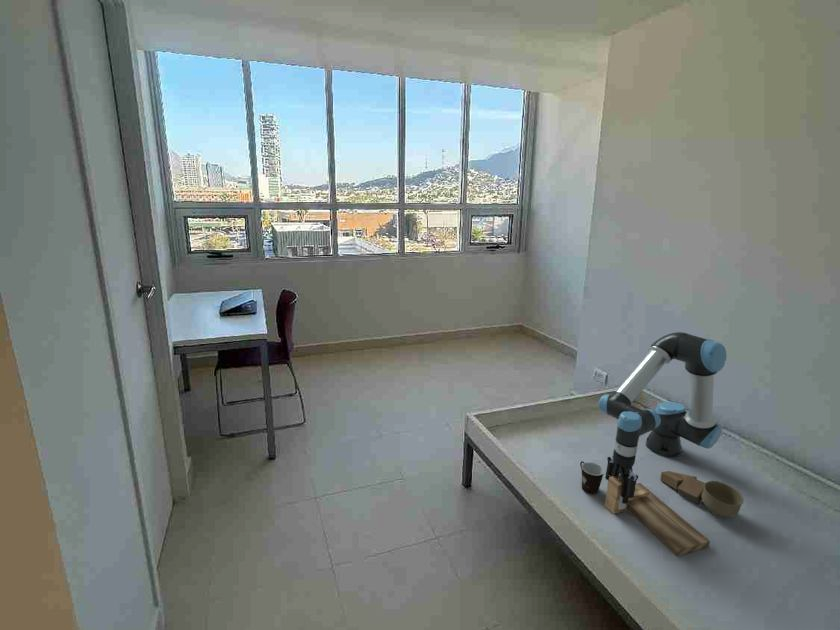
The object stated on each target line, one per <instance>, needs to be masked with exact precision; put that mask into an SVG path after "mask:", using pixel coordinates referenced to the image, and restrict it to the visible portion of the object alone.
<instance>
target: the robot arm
mask: <svg viewBox="0 0 840 630" xmlns="http://www.w3.org/2000/svg"><path fill="white" fill-rule="evenodd" d="M672 360H677V361H679V362H682V363H684V368H685V369H684V370H685V371H686V372H687V373H688V411H687V407H686V406H685V405H684V404H682V403H679V402H675V401H674V402H673V401H662V402H659V403H658V404H657V406H656V408H655V410H654V409H652V408H646V409H642V408H639V407H638V406H635V405H632V404H633V402H634V401H635V400H636V398H638V396H639V395H640V394H641V393H642V392H643V390H644V389H646V387H647V386H648V385H649V383H650V382H651V381H652V380H653V379H654V377H655V376H657V374H658V373H659V372H660V370H661V369H662V368H663V367H664V365H667V364H670V362H671V361H672ZM726 360H727V349H726V347H725V346H724V345H723V344H722V343H720V342H718V341H715V340H712V339H707V338H704V337H700V336H697V335H693V334H689V333H687V332H684V331H683V332H681V331H678V332H672V333H668V334H666V335H663V336H661V337H660V338H658V339H657V340H655V341H653V343H652V344H651V345H650V346H649V347H648V348H647V354H646V355H645V356H644V357H643V358H642V359H641V360H640V361H639V362H638V364H637V365H636V366H635V368H634V369H633V370H632V371H631V372H630V374H628V376H627V377H626V378H625V380H624V381H623V382H622V383H621V384H620V386H618V387H617V388H616V390H615V391H614V392H613V393H612V395H611V394H609V393H605V394H604V395H602V396H601V397H600V398H599V400H598V409H599V410H600V411H601V412H602V413H604V414H606V415H607V416H611V417H612V418H614V419H616V420H618V421H617V427H616V435H615V442H614V447H613V453H612V456H611V455H610V456H607V464H606V465H607V466H606V472H605V476H604V478H605V480H606V481H609V477H612V476H613V477H615V476H619V475H620V478H621V479H622V494H620V499H619V505H618V509H619V510H621V509H625V506H626V503H627V502H628V498H632V497H634V492H635V485H636V484H637V480H638V479H639V476H638V475H637V474H634V472H633V466H634V465H635V462H636V455H637V450H638V444H639V439H640V437H641V436H643V435H645V434H648V433H649V434H648V436H647V437H646V440H645V445H646V447H647V448H648V449H649V450H650V451H651V452H652V453H655V454H657V455H660V456H662V457H666V458H676V457H679V456H681V455H682V451H683V447H682V442H681V441H682V440H681V438H682V439H684V440H686V441H689V442H690V443H692V444H695V445H696V446H699V447H702V448H704V449H711V448H712V447H714V445H716V444H717V442H718V441H719V439H720V437H721V435H722V433H723V427H722V426H721V425H720V424H717V419H716V416H715V414H713V405H714V387H715V385H714V380H715V375H716V374H718V373H719V372H720V371H722V369H723V368H724V367H725V364H726Z"/></svg>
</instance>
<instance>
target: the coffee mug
mask: <svg viewBox="0 0 840 630" xmlns="http://www.w3.org/2000/svg"><path fill="white" fill-rule="evenodd" d="M579 466H580V469H581V489H582V491H583V492H584V493H586V494H588V495H596V494H598V493H599V490H600V486H601V484H602V480H603V477H604V475H605V469H604V468H603V467H602V466H601V465H600V464H598V463H596V462H591V461H590V462H588V461H587V462H584V460H583V461H580V465H579Z"/></svg>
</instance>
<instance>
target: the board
mask: <svg viewBox="0 0 840 630" xmlns="http://www.w3.org/2000/svg"><path fill="white" fill-rule="evenodd" d="M644 489H646V490H647V491H648V492H649V496H645V497H641V498H637V499H633V500H629V501H628V505H627V510H626V511H628V512H629V513H631V514H632V515H633V516H634V517H635V518H636V519H637V520H638V521H639V522H640V523H641V524H642V525H643V526H644V527H645V528H647V530H649V531H650V532H651V534H653V535H654V536H655V537H656V538H657V539H658V540H659V541H660V542H661V543H662V544H664V546H665V547H667V548H668V549H669V551H671V552H672V553H673V554H674V555H675V556H676V557H679V556H683V555H686V554H689V553H693V552H696V551H699V550H700V551H701V550H703V549H706V548H709V546H710V543H711V540H709V538H707V537H706V536H705V535H703V534H702V533H701V532H700V531H699V530H697V529H696V528H695V527H694V526H693V525H691V524H690V523H689V522H688V521H687V520H685V519H684V518H682V517H683V516H682V517H681V516H680V515H679V514H678V513H677V512H676V511H675V510H673V508H671V507H670V506H669V505H667V504H666V502H664V501H662V499H661V498H659V497H658V496H656V495H655V494H654V493H653V492H652V491H651V490H649V489H648V488H647V487H646V486H645V485H644V484H642V483H641V482H638V483H637V482H636V485H635V492H636V491H640V490H644Z"/></svg>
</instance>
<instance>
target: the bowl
mask: <svg viewBox="0 0 840 630" xmlns="http://www.w3.org/2000/svg"><path fill="white" fill-rule="evenodd" d="M704 483H705V485H704V490H703V493H702V501H701V502H703V505H704V506H705V507H706V508H707V509H708V510H709V512H710V513H712V514H713V515H715V516H718V517H720V518H721V517H725V518H729V517H734V516H736V515H738V514H739V512H740V509H741V507H742V505H743V504H744V502H745V501H744V500H745V499H744V497H743V495H742V494H741V493H740V492H739V491H738V490H737V489H736V488H734V487H733V486H730V485H729V484H726V483H724V482H721V481H716V480H709V481H706V482H704Z"/></svg>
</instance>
